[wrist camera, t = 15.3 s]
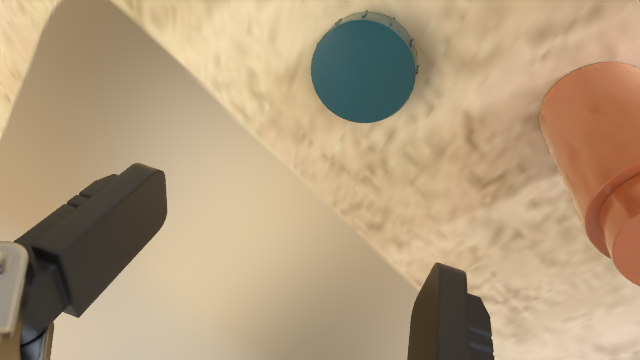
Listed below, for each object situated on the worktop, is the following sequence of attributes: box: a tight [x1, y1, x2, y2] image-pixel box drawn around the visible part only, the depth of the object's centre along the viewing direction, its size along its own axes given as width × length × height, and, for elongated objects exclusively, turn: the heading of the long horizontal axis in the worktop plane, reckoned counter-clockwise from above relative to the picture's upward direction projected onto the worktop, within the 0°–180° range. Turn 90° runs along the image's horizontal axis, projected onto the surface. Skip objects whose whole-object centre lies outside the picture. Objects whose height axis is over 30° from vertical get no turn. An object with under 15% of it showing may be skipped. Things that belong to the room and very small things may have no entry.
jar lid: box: [311, 11, 419, 123], centre depth 22 cm, size 6×6×2 cm
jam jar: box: [539, 62, 640, 286], centre depth 17 cm, size 5×5×11 cm
